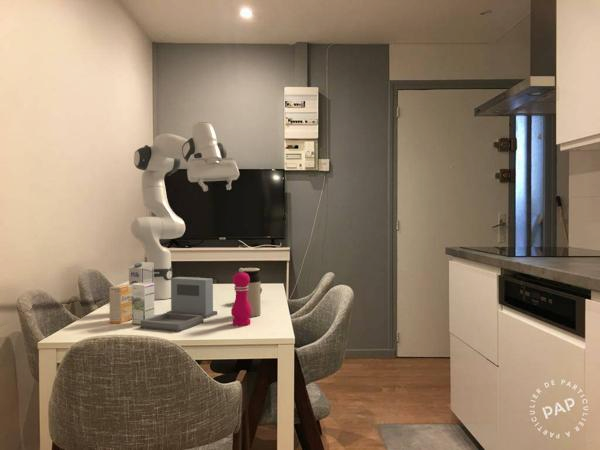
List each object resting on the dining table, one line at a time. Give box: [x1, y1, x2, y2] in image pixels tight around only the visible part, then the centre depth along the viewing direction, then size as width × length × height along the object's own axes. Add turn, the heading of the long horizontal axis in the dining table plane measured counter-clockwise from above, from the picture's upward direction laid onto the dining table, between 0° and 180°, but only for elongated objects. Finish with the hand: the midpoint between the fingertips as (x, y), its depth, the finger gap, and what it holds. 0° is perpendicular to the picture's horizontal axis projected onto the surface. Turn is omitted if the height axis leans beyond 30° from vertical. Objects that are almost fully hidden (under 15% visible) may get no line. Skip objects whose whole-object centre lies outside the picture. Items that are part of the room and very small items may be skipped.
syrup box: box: [131, 282, 156, 326], centre depth 157 cm, size 6×6×14 cm
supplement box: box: [108, 283, 132, 324], centre depth 161 cm, size 8×5×13 cm, turn 168°
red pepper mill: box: [230, 267, 252, 327], centre depth 155 cm, size 7×7×20 cm
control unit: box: [166, 276, 218, 320], centre depth 171 cm, size 18×8×14 cm, turn 68°
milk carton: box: [128, 261, 154, 285], centre depth 177 cm, size 7×7×20 cm
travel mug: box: [242, 267, 262, 318], centre depth 169 cm, size 8×8×18 cm
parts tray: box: [140, 312, 204, 333], centre depth 153 cm, size 16×14×2 cm
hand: (217, 189), depth 169 cm, fingers open, 8 cm apart
